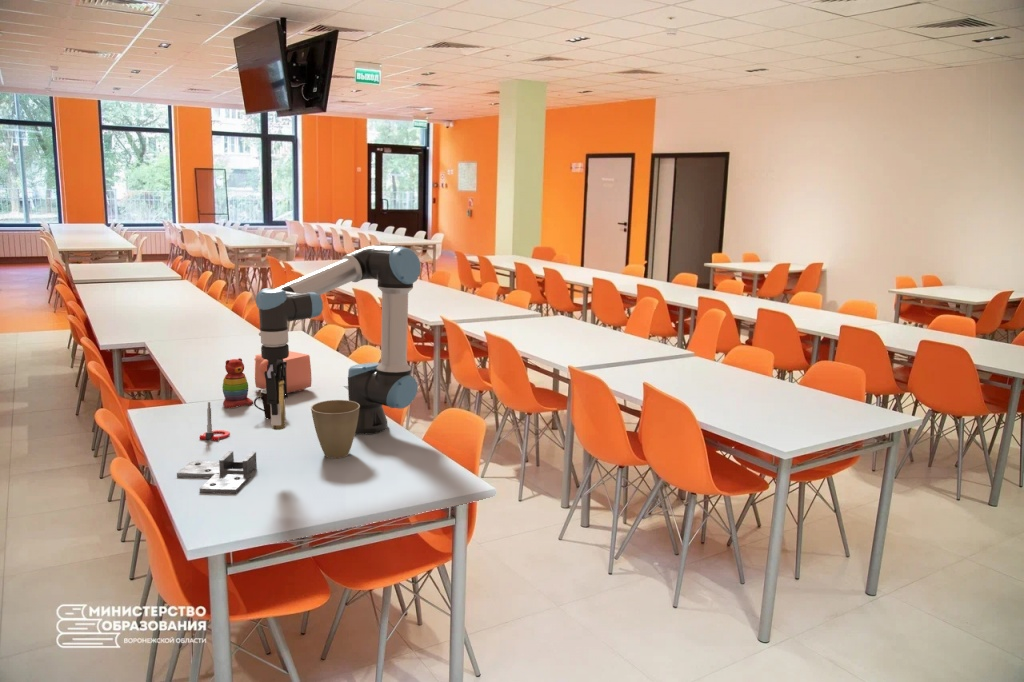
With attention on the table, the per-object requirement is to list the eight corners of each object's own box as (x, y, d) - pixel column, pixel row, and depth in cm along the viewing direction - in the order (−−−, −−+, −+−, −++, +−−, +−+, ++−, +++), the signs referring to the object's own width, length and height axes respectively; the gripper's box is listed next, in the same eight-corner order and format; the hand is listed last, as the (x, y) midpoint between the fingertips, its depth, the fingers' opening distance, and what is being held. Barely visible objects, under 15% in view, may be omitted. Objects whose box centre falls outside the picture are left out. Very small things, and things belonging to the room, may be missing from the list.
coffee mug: (284, 412, 283) (283, 386, 281) (288, 418, 276) (287, 392, 274) (251, 415, 278) (250, 389, 276) (254, 422, 271) (253, 395, 269)
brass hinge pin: (288, 425, 223) (285, 379, 220) (283, 430, 219) (281, 383, 216) (273, 425, 223) (271, 379, 220) (269, 430, 219) (266, 383, 216)
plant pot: (304, 452, 241) (303, 404, 238) (347, 444, 250) (347, 397, 247) (324, 466, 230) (322, 415, 227) (368, 457, 239) (368, 408, 235)
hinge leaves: (261, 466, 228) (260, 450, 227) (236, 493, 207) (235, 476, 206) (191, 464, 228) (190, 448, 227) (159, 491, 207) (158, 474, 206)
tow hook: (211, 432, 260) (196, 439, 251) (211, 395, 258) (195, 401, 249) (234, 434, 258) (220, 441, 249) (234, 397, 257) (219, 403, 247)
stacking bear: (226, 409, 285) (224, 363, 282) (217, 403, 293) (215, 358, 290) (255, 404, 292) (253, 360, 289) (245, 399, 300) (243, 355, 296)
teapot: (235, 390, 312) (233, 348, 309) (278, 379, 331) (276, 339, 328) (277, 400, 299) (275, 356, 296) (319, 388, 318) (318, 347, 315)
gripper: (270, 338, 224) (274, 413, 229) (251, 350, 207) (256, 431, 212) (296, 338, 224) (299, 414, 229) (279, 350, 208) (283, 432, 212)
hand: (278, 422), depth 220 cm, fingers closed on brass hinge pin, 3 cm apart
